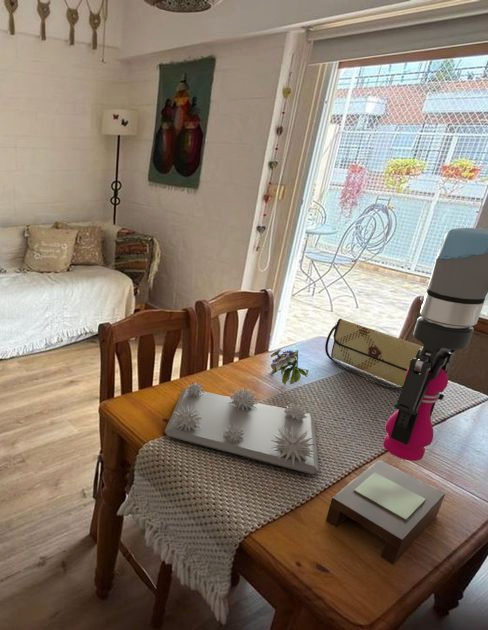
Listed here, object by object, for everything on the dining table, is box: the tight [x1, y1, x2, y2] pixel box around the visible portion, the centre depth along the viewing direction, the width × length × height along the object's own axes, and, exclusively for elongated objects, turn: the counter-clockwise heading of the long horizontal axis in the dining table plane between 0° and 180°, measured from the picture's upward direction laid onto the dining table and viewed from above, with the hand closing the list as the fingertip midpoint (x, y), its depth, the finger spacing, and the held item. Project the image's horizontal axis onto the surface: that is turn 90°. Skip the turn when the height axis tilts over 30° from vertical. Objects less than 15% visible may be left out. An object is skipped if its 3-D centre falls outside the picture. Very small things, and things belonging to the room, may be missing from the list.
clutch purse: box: [324, 318, 424, 390], centre depth 142 cm, size 30×7×15 cm, turn 27°
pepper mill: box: [382, 368, 449, 462], centre depth 81 cm, size 7×7×20 cm
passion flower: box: [270, 348, 310, 386], centre depth 141 cm, size 11×11×12 cm
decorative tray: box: [164, 381, 320, 475], centre depth 114 cm, size 35×26×10 cm
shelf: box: [325, 459, 446, 565], centre depth 87 cm, size 12×20×6 cm, turn 124°
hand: (408, 433), depth 83 cm, fingers closed on pepper mill, 7 cm apart
